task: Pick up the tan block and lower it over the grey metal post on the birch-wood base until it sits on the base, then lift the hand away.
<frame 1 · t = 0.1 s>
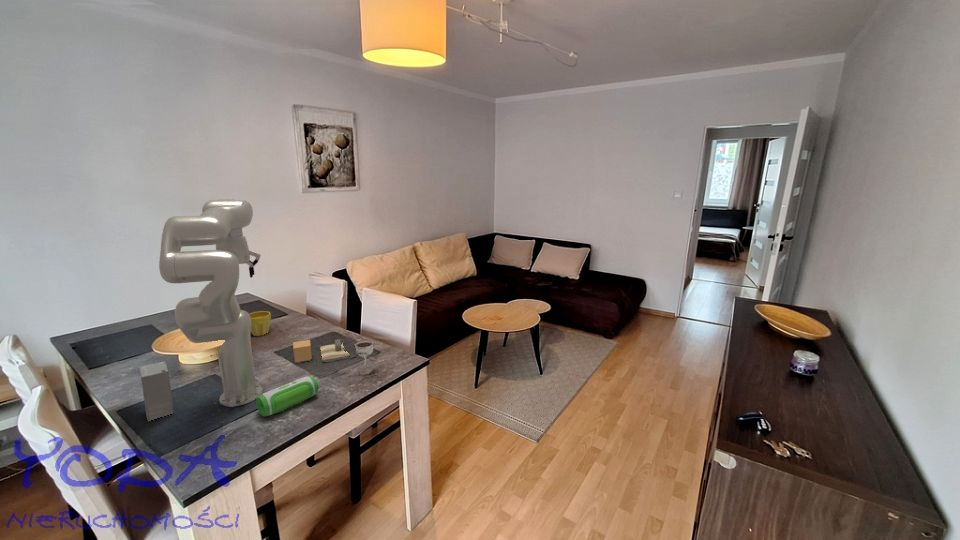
hand: (236, 278, 141), 37 cm above the table, tool pointing down, fingers open, 9 cm apart
holder: (338, 353, 162), on the table
tan block: (303, 359, 156), on the table
wineglass: (365, 372, 147), on the table
plant pot: (260, 333, 180), on the table
speaker: (289, 405, 125), on the table
skincare box: (161, 413, 119), on the table
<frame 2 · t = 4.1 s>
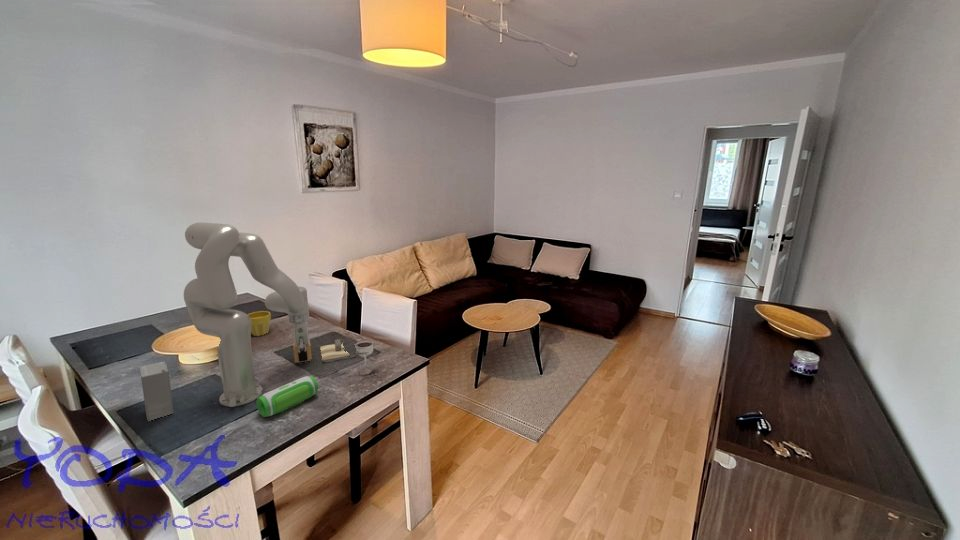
hand: (303, 356, 156), 1 cm above the table, tool pointing down, fingers closed on tan block, 6 cm apart
tan block: (303, 359, 156), on the table, touching gripper
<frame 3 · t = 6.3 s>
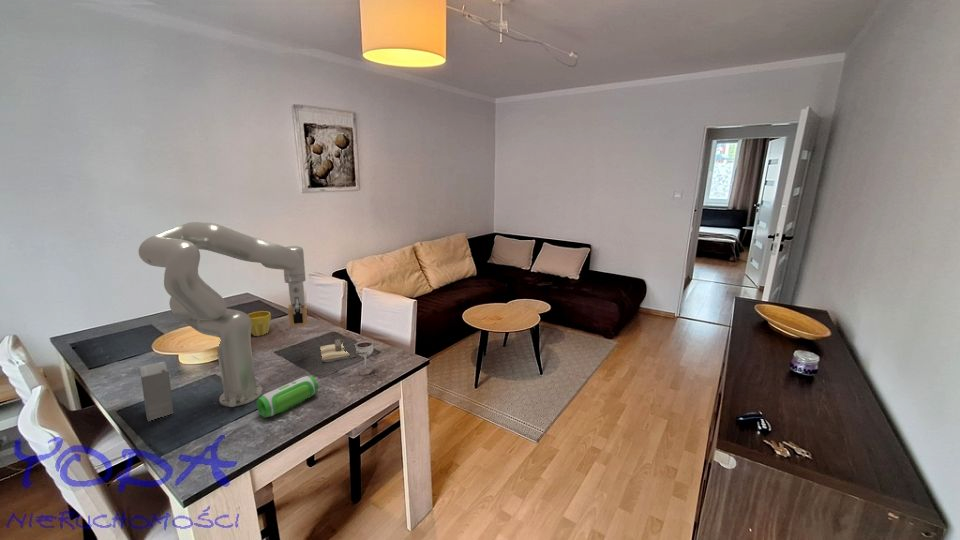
hand: (298, 319, 151), 18 cm above the table, tool pointing down, fingers closed on tan block, 6 cm apart
tan block: (298, 322, 151), point 17 cm above the table, touching gripper
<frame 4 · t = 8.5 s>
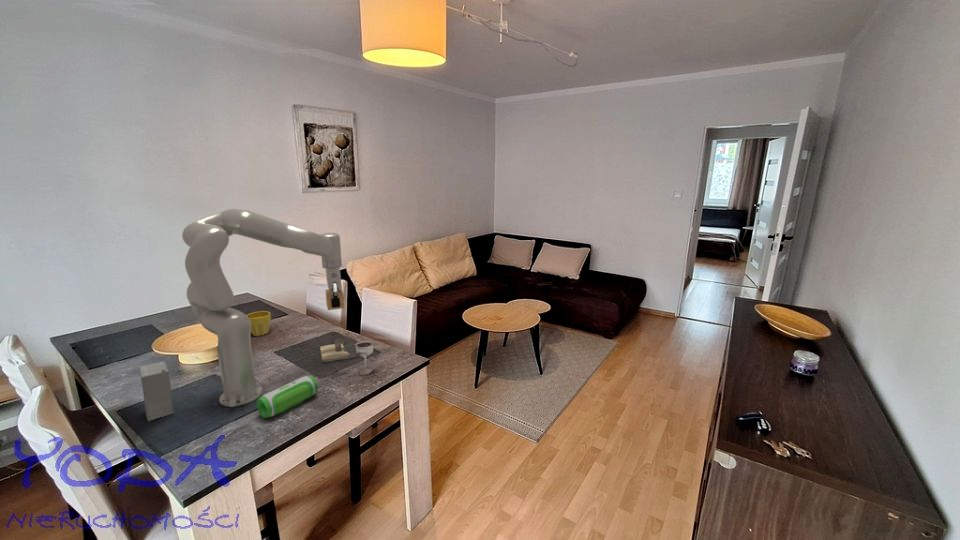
hand: (335, 304, 157), 23 cm above the table, tool pointing down, fingers closed on tan block, 6 cm apart
tan block: (335, 306, 157), point 21 cm above the table, touching gripper
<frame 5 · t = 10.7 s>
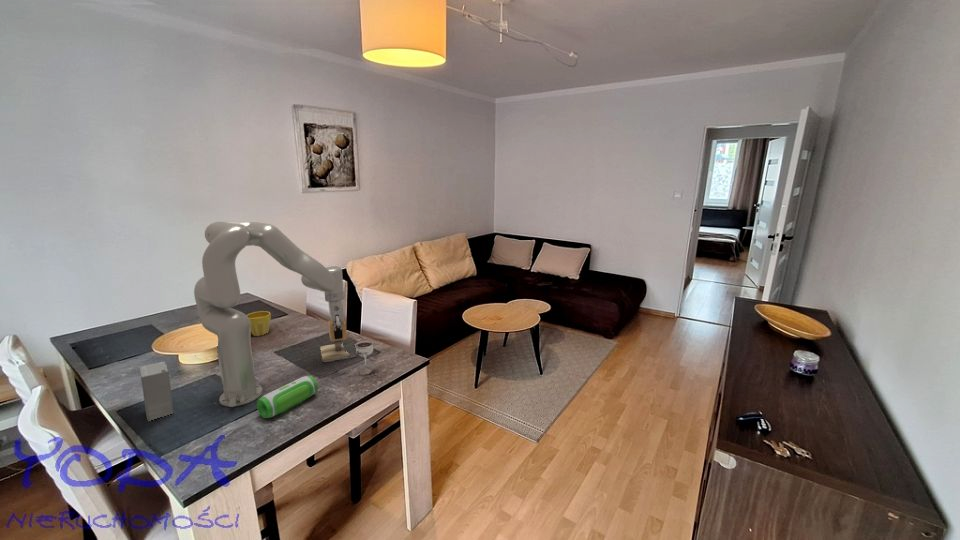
hand: (337, 335, 160), 8 cm above the table, tool pointing down, fingers closed on tan block, 6 cm apart
tan block: (338, 337, 160), point 7 cm above the table, touching gripper
when the fingers open (4 cm above the table, at t = 12.7 s): tan block stays where it is, resting on holder.
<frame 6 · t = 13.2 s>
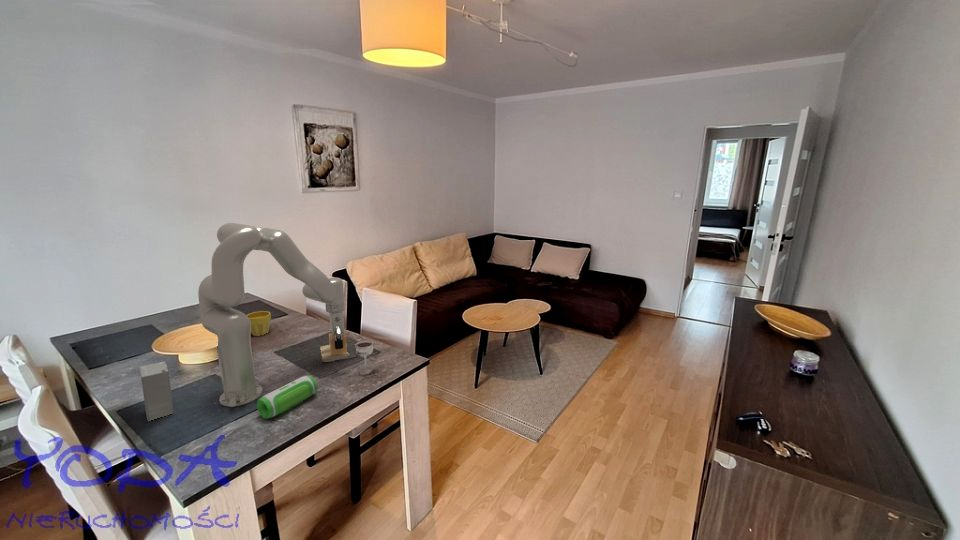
hand: (338, 344, 161), 4 cm above the table, tool pointing down, fingers open, 9 cm apart
tan block: (338, 350, 162), point 1 cm above the table, touching holder
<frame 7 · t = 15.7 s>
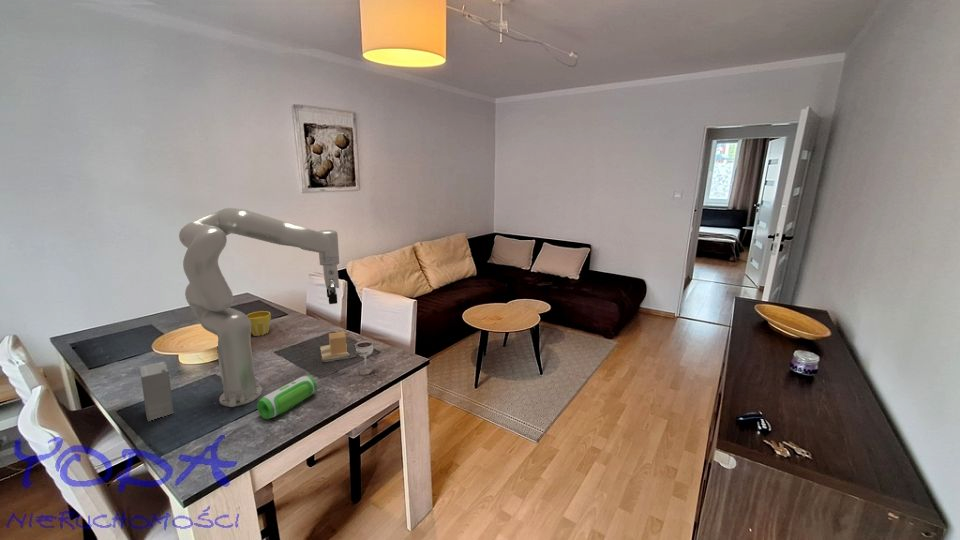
hand: (332, 300, 156), 24 cm above the table, tool pointing down, fingers open, 9 cm apart
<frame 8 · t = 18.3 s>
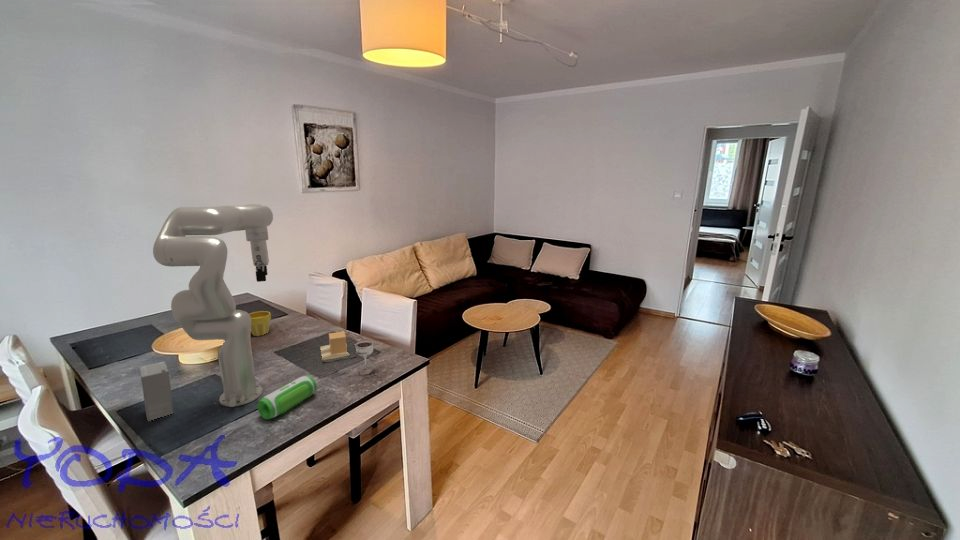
hand: (262, 278, 150), 34 cm above the table, tool pointing down, fingers open, 9 cm apart
at the end: tan block 0.0 cm off-centre on the holder, point 1.5 cm above the holder's base; tan block tilted 0°; the gripper is holding nothing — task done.
